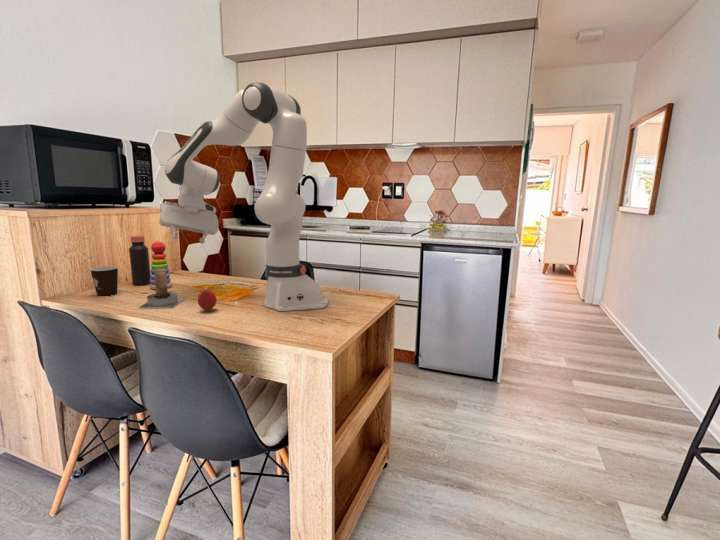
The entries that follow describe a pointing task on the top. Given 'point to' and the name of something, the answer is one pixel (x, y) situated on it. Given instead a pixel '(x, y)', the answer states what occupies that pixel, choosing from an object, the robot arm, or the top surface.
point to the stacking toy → (159, 262)
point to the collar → (162, 301)
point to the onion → (207, 299)
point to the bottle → (139, 261)
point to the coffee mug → (105, 280)
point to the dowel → (160, 282)
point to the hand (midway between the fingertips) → (188, 240)
